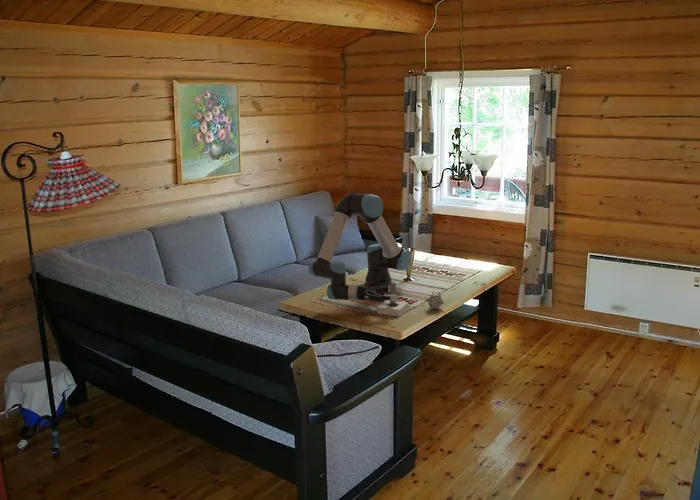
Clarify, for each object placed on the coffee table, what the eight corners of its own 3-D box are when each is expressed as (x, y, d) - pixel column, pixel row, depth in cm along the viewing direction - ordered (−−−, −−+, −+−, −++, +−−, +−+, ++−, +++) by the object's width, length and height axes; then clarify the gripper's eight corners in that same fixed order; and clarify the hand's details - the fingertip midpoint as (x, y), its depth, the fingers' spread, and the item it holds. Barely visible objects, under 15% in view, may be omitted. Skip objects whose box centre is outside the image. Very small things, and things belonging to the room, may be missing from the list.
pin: (391, 310, 345) (390, 281, 342) (397, 310, 344) (396, 282, 340) (388, 311, 342) (388, 283, 339) (394, 312, 341) (394, 284, 338)
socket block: (387, 306, 351) (386, 300, 350) (408, 309, 346) (408, 302, 345) (377, 313, 340) (377, 307, 340) (399, 316, 335) (399, 309, 334)
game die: (439, 315, 346) (451, 300, 342) (429, 314, 339) (442, 299, 336) (428, 303, 351) (440, 289, 348) (419, 302, 344) (431, 287, 341)
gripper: (362, 292, 357) (402, 293, 353) (353, 307, 333) (395, 308, 329) (361, 278, 355) (402, 279, 351) (352, 292, 332) (395, 294, 327)
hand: (399, 293), depth 340 cm, fingers open, 13 cm apart
